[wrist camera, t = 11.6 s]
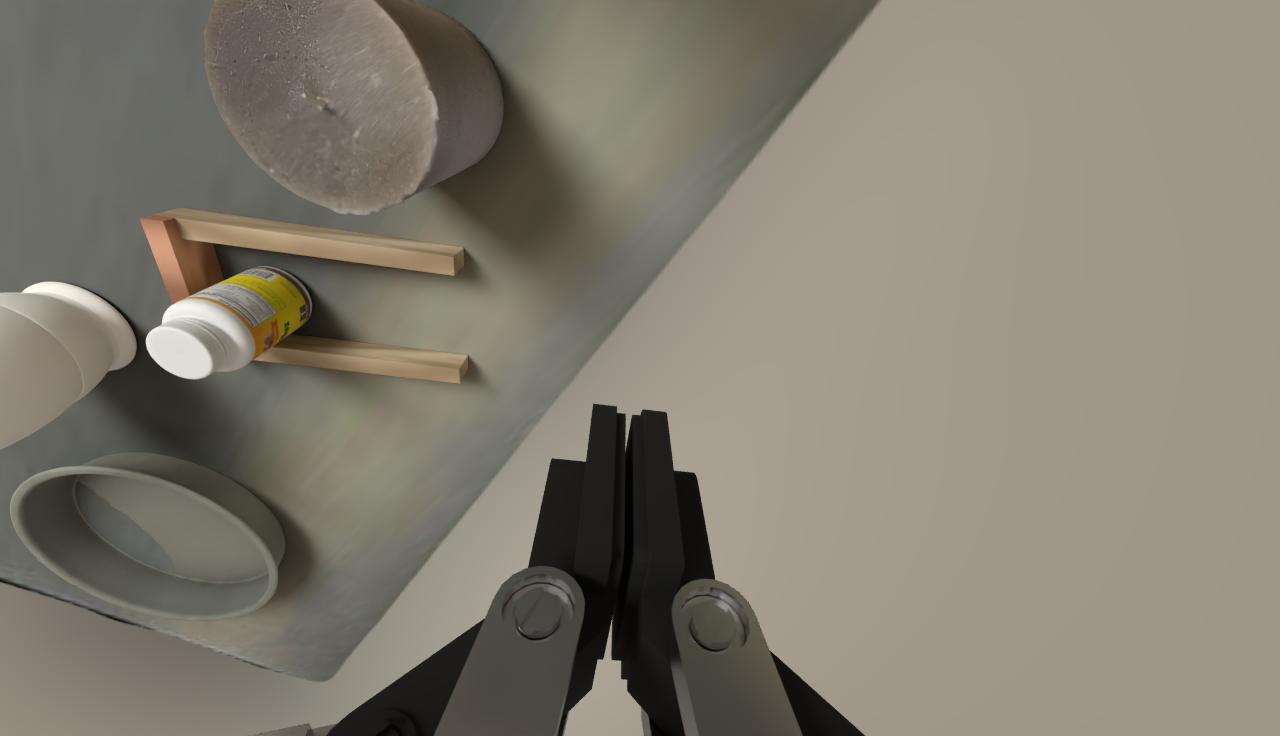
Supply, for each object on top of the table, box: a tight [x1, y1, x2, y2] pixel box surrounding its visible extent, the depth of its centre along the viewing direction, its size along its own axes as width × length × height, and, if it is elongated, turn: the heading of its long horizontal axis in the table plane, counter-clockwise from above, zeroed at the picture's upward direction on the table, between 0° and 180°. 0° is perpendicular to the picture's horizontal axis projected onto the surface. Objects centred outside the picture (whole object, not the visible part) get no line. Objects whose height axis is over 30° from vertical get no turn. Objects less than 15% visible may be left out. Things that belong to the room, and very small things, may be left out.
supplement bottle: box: [146, 266, 312, 379], centre depth 35 cm, size 6×6×10 cm
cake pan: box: [10, 452, 285, 622], centre depth 51 cm, size 25×25×4 cm
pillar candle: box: [204, 0, 504, 216], centre depth 26 cm, size 10×10×15 cm
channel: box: [140, 208, 468, 384], centre depth 38 cm, size 12×21×4 cm, turn 81°
